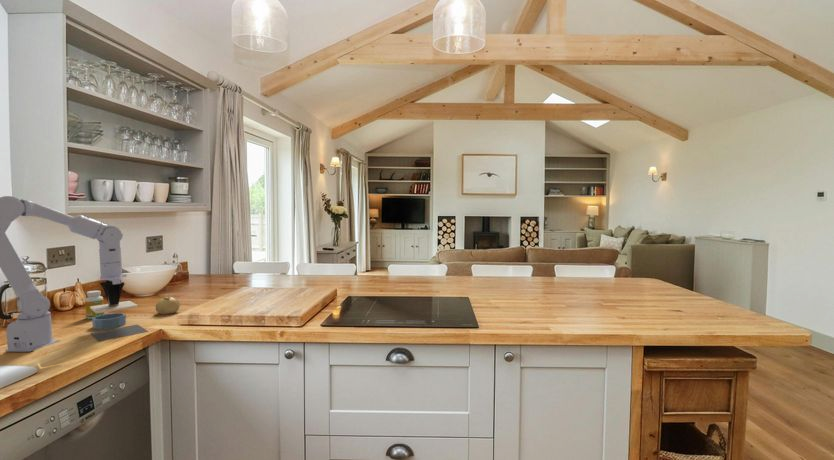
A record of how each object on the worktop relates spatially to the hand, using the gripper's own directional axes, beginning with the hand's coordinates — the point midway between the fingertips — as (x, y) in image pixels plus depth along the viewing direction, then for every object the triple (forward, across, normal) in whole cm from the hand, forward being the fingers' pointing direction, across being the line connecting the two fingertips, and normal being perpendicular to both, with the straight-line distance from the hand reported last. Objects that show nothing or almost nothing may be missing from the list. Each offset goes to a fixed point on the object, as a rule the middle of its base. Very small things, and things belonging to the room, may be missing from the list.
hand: (113, 303), depth 138 cm
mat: (+9, -6, 0) cm, 11 cm away
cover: (+1, 0, 0) cm, 1 cm away
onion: (+9, +11, -19) cm, 24 cm away
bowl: (+9, +7, 0) cm, 11 cm away
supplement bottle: (+9, +27, +1) cm, 29 cm away
